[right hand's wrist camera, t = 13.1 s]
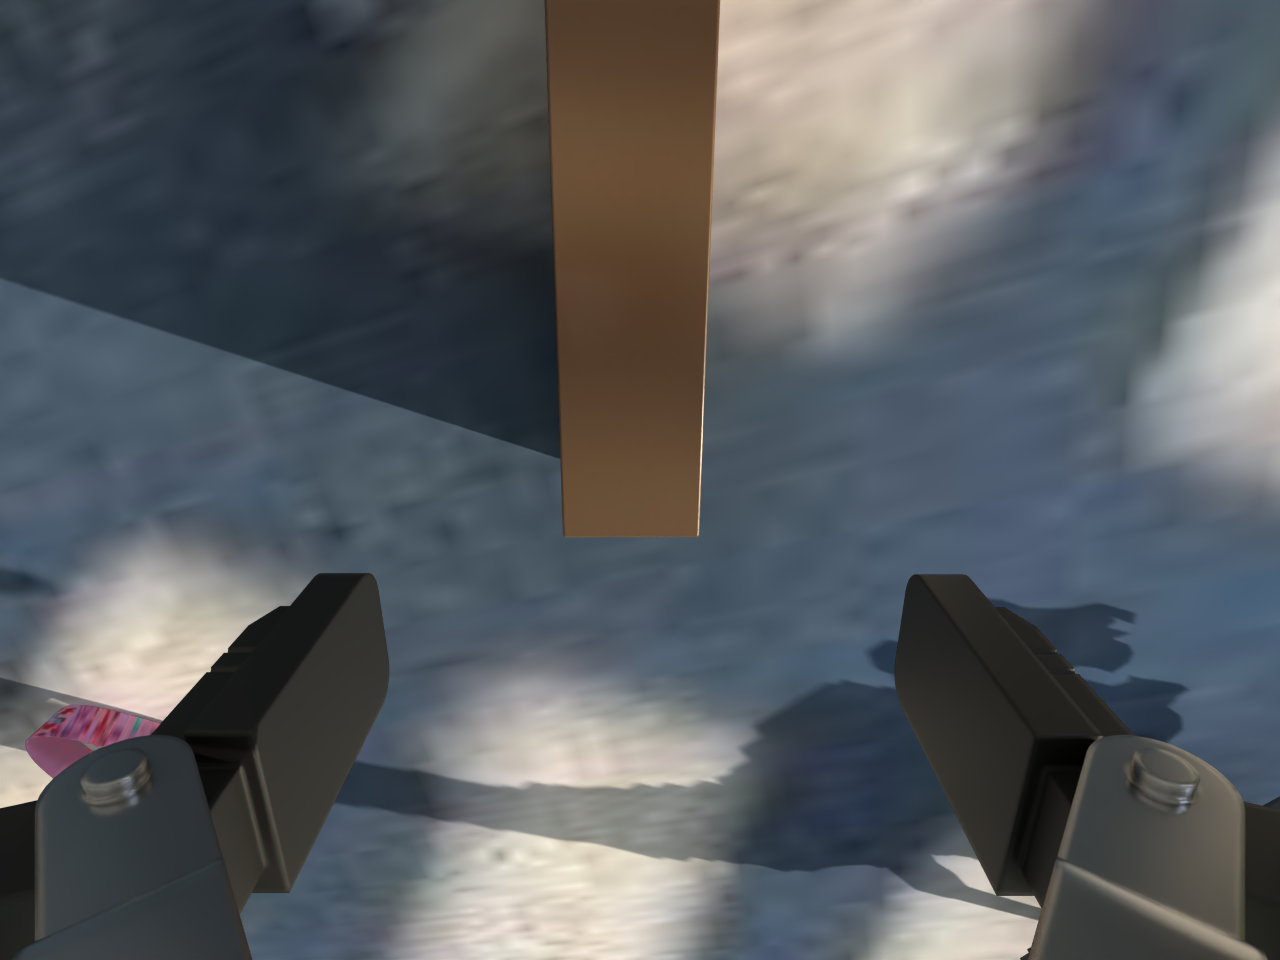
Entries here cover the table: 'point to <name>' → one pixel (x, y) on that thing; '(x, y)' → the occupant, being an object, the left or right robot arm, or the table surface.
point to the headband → (81, 735)
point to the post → (631, 257)
